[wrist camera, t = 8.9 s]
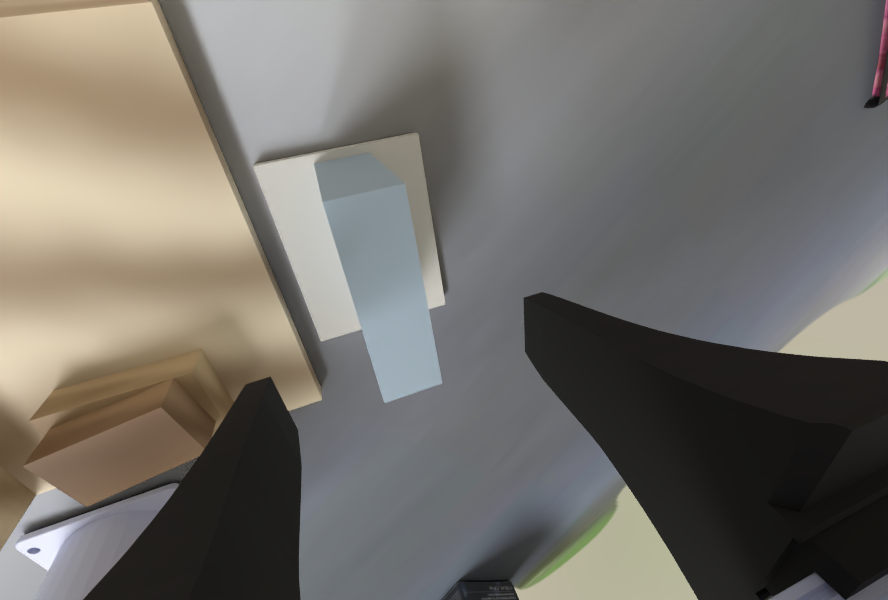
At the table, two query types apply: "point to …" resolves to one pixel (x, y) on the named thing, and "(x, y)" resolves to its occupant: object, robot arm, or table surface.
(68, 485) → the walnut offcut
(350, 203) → the pale blue block
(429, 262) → the felt pad
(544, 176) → the table surface
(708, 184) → the table surface
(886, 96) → the laptop bag
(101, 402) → the oak offcut
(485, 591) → the box
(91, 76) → the pale wood shallow tray
